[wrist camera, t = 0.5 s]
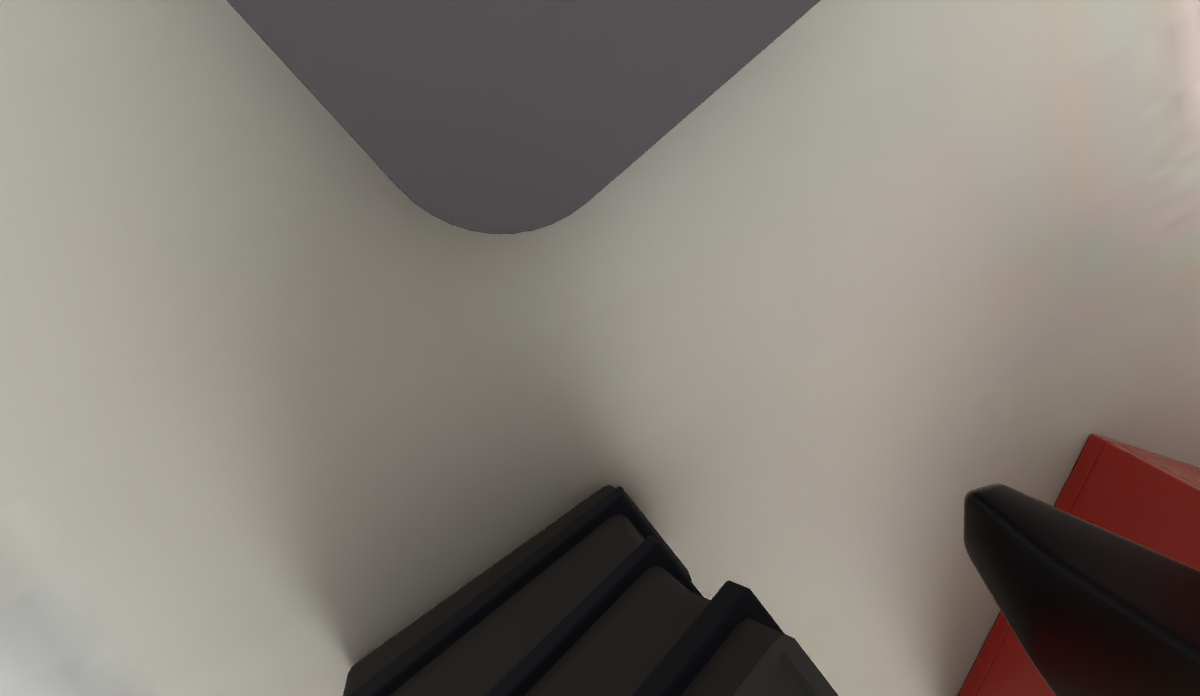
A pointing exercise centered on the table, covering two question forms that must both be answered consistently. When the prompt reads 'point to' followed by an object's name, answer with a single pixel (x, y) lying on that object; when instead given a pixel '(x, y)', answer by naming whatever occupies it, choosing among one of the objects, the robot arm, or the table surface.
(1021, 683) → the valve cabinet
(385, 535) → the table surface
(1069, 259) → the table surface
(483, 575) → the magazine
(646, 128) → the streaming box
